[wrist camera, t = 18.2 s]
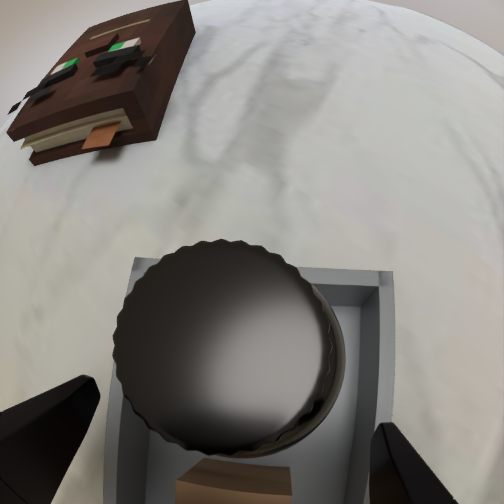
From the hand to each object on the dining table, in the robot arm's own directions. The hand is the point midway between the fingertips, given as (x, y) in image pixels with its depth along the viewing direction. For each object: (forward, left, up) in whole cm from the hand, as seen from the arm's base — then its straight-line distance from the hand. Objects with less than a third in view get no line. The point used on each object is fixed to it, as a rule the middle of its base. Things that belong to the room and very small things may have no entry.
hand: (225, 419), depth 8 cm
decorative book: (+33, +21, -11) cm, 40 cm away
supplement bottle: (+2, 0, -9) cm, 9 cm away
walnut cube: (-6, 0, -9) cm, 11 cm away
